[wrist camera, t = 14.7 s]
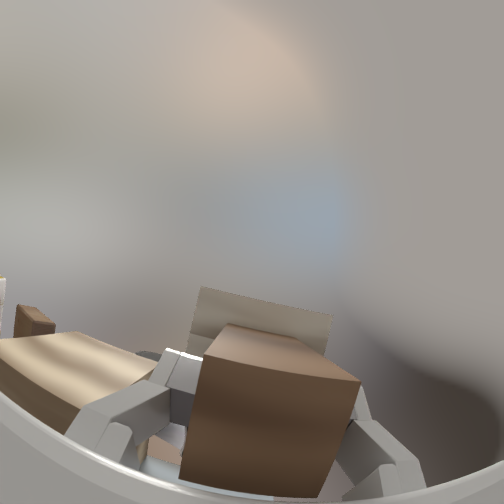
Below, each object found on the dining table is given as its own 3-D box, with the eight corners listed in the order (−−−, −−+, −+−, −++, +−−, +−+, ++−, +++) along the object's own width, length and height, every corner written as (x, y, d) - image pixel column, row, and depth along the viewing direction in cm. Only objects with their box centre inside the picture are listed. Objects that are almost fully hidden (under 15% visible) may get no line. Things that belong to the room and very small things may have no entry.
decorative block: (51, 412, 38) (57, 324, 42) (28, 413, 33) (32, 320, 37) (31, 387, 43) (37, 307, 46) (11, 386, 38) (16, 303, 41)
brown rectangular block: (374, 494, 5) (433, 326, 6) (112, 455, 5) (142, 263, 6) (292, 376, 19) (307, 311, 20) (198, 356, 19) (213, 290, 20)
